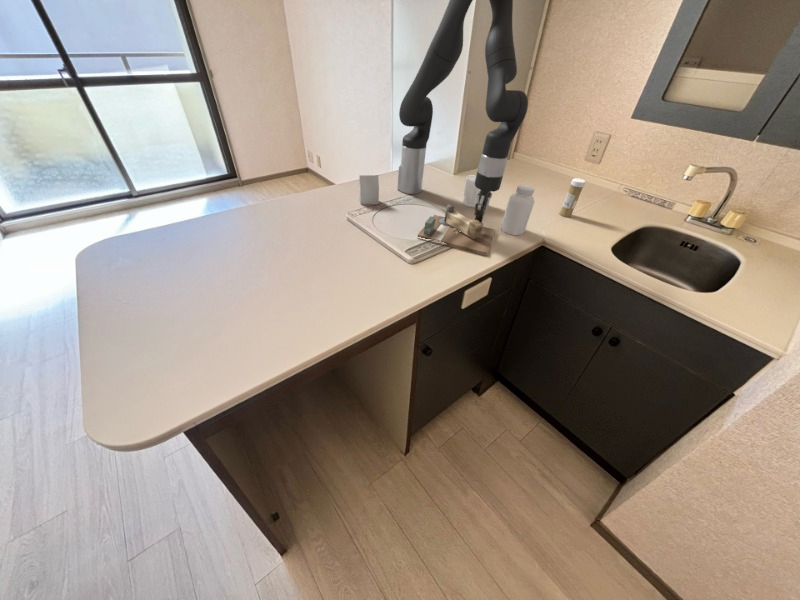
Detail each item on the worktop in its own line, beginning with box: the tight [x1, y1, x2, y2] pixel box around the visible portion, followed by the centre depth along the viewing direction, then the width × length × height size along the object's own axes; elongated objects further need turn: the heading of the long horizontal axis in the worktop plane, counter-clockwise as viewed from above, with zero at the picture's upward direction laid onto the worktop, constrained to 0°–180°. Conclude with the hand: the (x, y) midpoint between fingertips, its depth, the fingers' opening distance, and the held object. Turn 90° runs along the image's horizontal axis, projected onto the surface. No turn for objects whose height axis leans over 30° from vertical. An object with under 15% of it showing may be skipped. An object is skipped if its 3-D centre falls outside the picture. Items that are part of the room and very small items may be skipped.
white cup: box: [462, 174, 481, 208], centre depth 125 cm, size 8×8×10 cm
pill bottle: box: [500, 184, 535, 236], centre depth 107 cm, size 8×8×15 cm
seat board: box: [417, 214, 497, 257], centre depth 105 cm, size 22×17×5 cm
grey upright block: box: [358, 174, 380, 205], centre depth 119 cm, size 4×7×10 cm, turn 103°
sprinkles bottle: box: [558, 177, 586, 218], centre depth 122 cm, size 5×5×14 cm
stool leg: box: [444, 204, 484, 239], centre depth 105 cm, size 15×3×5 cm, turn 36°
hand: (477, 225), depth 105 cm, fingers closed
